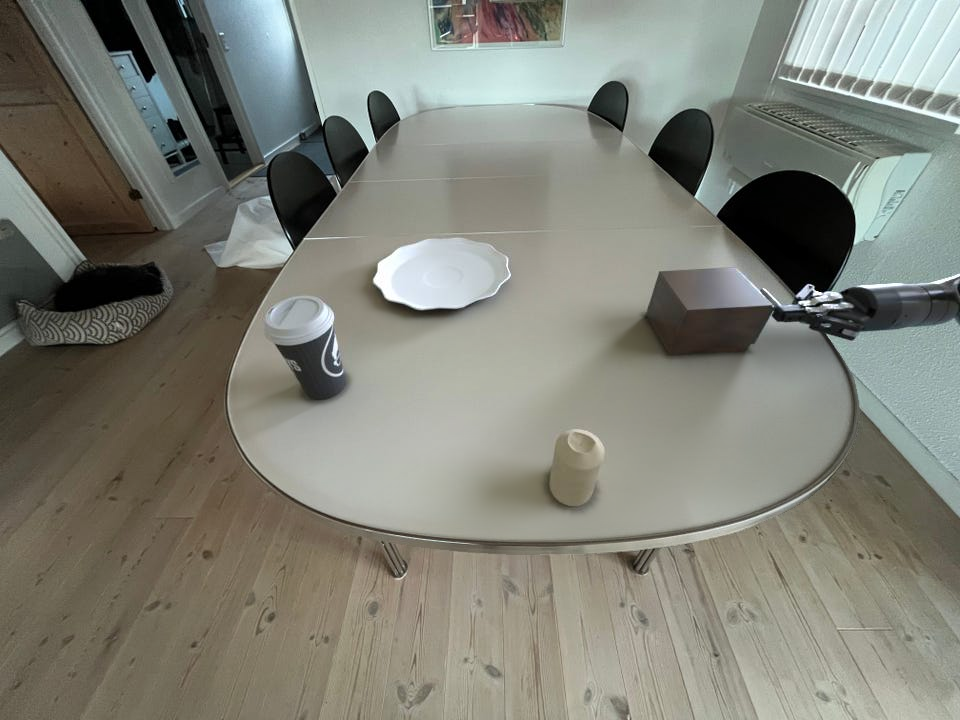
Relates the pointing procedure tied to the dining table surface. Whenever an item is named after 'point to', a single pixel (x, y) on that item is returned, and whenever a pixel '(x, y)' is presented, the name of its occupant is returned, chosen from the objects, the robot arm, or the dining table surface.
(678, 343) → the cabinet
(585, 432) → the candle
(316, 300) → the coffee cup
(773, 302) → the drawer
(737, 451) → the dining table surface
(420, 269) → the plate
